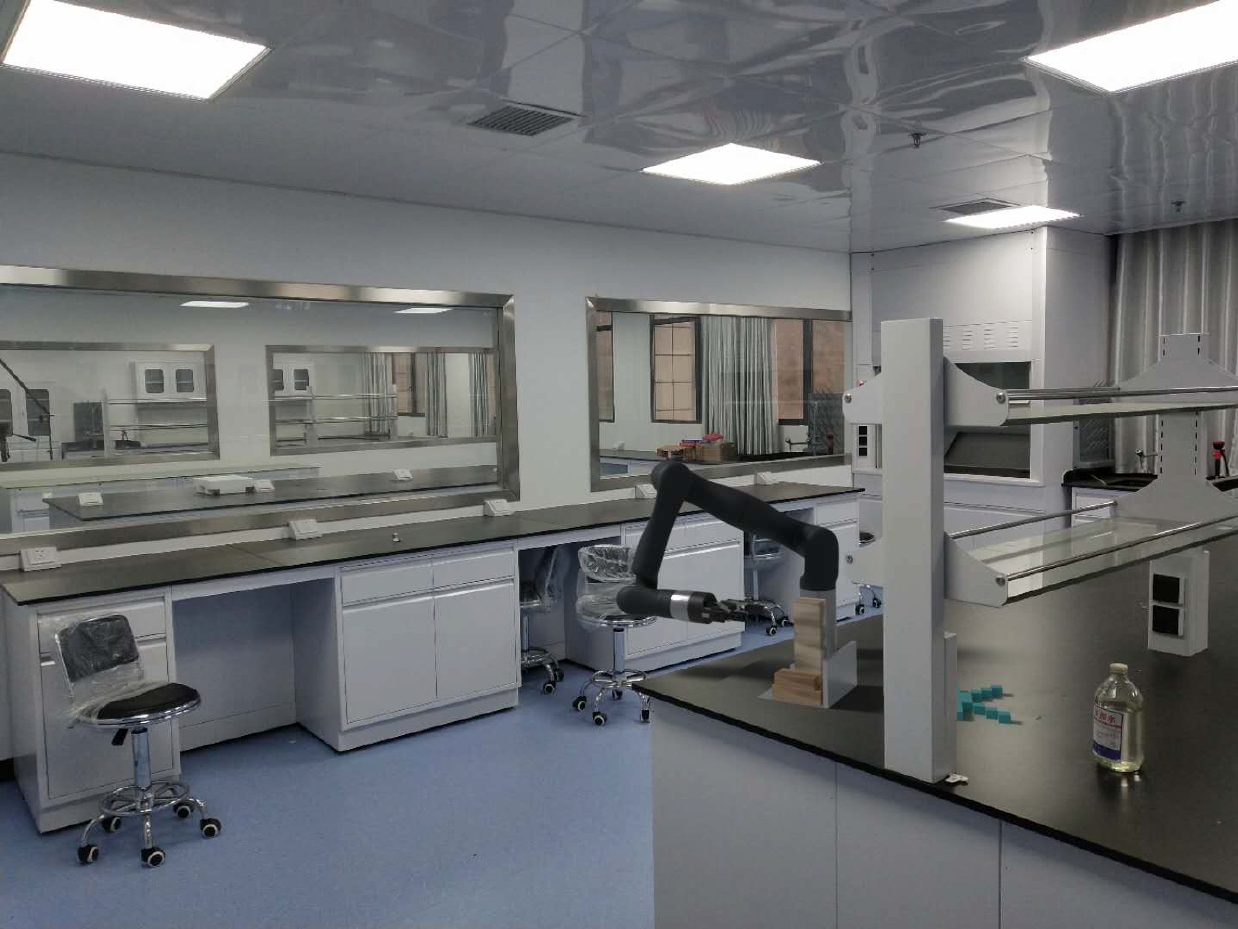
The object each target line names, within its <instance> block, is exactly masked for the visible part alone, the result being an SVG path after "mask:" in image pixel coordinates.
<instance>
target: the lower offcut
mask: <svg viewBox="0 0 1238 929" xmlns="http://www.w3.org/2000/svg"><path fill="white" fill-rule="evenodd" d="M771 688H772V696H774V697H780V698H786V699H793V700H799V701H805V702H812V703H818V704H821V703H822V702H823V685H821V686H820V687H818V688H817V689H815V690H814V691H813V690H806V689H799V688H793V687H786V686H779V685H775V682H774V683H772V684H771Z"/></svg>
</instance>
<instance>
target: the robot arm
mask: <svg viewBox="0 0 1238 929" xmlns="http://www.w3.org/2000/svg"><path fill="white" fill-rule="evenodd" d="M650 481H651V484H652V487H653V489H655V491H656V495H655V496H656V497H655V502H654V505H653V506H654V507H653V509H652V513H651V514H650V518H649V520H648V522H647V524H646V526H645V528H644V530H643V532H642V534H641V536H640V537H639V541H638V543H637V547H636V550H635V553H634V556H633V560H632V563H631V567H630V568H631V572H632V574H633V575H634V576H635V582H634V585H626V586H624V587H622V588H621V589H620V590H619V591H617V594H616V597H615V599H616V600H615V602H616V606H617V607H618V609H619V610H620V611H621V612H623V613H625V614H627V615H636V616H637V615H638V616H639V615H640V616H654V617H659V618H663V619H672V620H678V621H682V622H686V623H692V624H693V623H695V624H700V625H701V624H703V625H711V624H712V623H713V622H715V623H721V624H724V623H726V622H729V623H730V622H740V623H747V622H749V621H748V620H749V615H758V616H762V615H764V614H765V607H764V605H763V604H755V603H751V601H750V600H743V599H732V598H727V599H720V601H719V600H718V598H717V597H716V595H715V594H714V593H713V592H710V591H708V592H707V591H699V590H690V589H685V590H684V589H682V590H681V589H670V588H661V589H659V588H658V585H659V584H658V583H659V572H660V571H661V567H662V563H663V560H664V557H665V553H666V550H667V547H668V543H669V540H670V536H671V534H672V531H673V528H674V526H675V525H674V524H675V522H676V520H677V519H678V518H677V517H678V515H679V513H680V511H681V509H682V507H683V504H684V502H685V503H688V504H691V505H693V506H696V507H697V508H699V509H700V510H702V511H704V512H706V513H708V515H711V516H712V517H714V518H716V519H717V520H719V521H720V522H723V523H725V524H726V525H729V526H731V527H733V528H735V529H738V530H740V531H742V532H744V533H746V534H750V535H753V536H756V537H759V538H764V539H766V540H770V541H774V542H775V543H778V544H780V545H782V546H784V547H785V548H787V549H789V550H790V551H792V552H794V553H795V554H798V555H799V556H800V557H802V558H803V559H804V563H803V564H804V565H803V566H804V567H803V569H804V571H803V574H802V575H801V576H800V577H799V583H798V584H799V597H806V598H817V599H826V634H827V657H828V656H830V655H831V654H833V653H834V652H836V651H837V650H838V631H837V630H838V629H837V628H838V627H837V626H838V623H837V622H838V621H837V620H838V619H837V614H838V613H837V580H838V578H839V573H840V547H839V545H840V544H839V541H838V537H837V535H836V534H835V533H834V531H833V530H831V529H828V527H827V528H826V527H824V526H820V525H815V524H811V523H808V522H804V521H801V520H798V519H795V518H793V517H790V516H788V515H786V514H784V513H783V512H781V511H780V510H778V509H777V508H775V507H774V506H773V505H771V504H769V503H768V502H766V501H764V500H762V499H761V498H758V497H756V496H755V495H752V494H749V493H747V492H745V491H743V490H740V489H738V488H734V487H731V486H729V485H726V484H722V483H720V482H719V483H718V482H714V481H712V480H709V479H706V478H705V477H702V476H700V475H698V474H697V473H695V472H693V471H691V470H690V468H689V466H687V465H686V464H684V463H682V462H681V461H677V460H673V459H672V460H671V459H667V460H663V461H661V462H658V464H656V465H655V466H654V467H653V468H652V470H651V473H650ZM742 606H743V607H744V608H743V607H742ZM748 614H749V615H748Z"/></svg>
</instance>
